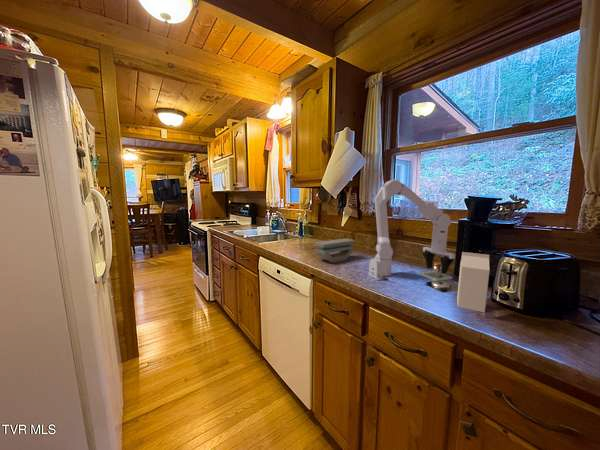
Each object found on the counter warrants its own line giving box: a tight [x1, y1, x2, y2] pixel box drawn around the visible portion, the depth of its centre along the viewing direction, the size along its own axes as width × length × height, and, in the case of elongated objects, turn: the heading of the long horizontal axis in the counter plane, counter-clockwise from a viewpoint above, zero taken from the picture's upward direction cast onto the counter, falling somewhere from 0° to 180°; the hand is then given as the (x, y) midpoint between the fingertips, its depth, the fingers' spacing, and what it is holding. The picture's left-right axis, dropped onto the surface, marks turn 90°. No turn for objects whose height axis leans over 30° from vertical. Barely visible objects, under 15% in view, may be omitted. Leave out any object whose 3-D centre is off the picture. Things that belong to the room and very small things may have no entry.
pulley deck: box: [423, 280, 459, 294], centre depth 95 cm, size 13×9×4 cm
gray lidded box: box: [313, 238, 356, 263], centre depth 139 cm, size 25×8×11 cm, turn 125°
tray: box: [420, 271, 453, 282], centre depth 107 cm, size 9×8×2 cm
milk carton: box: [456, 251, 491, 317], centre depth 78 cm, size 7×7×19 cm
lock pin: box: [431, 261, 442, 278], centre depth 106 cm, size 4×4×7 cm
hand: (436, 270), depth 106 cm, fingers open, 7 cm apart
